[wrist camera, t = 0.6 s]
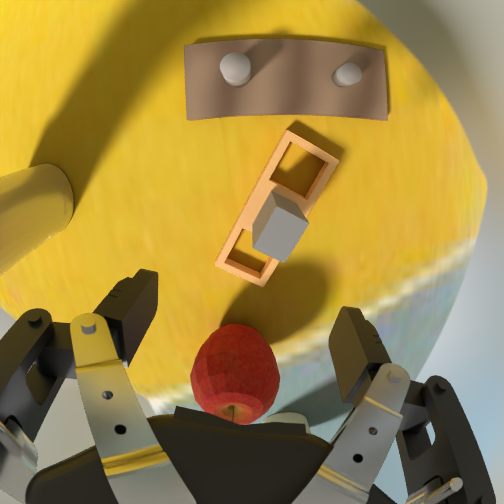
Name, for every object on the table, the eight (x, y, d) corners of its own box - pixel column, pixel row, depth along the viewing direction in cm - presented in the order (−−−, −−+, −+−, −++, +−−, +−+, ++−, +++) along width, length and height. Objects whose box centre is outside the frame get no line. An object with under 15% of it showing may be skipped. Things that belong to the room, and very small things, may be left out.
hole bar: (262, 280, 33) (265, 320, 26) (215, 259, 32) (207, 295, 25) (335, 159, 27) (361, 169, 20) (285, 129, 26) (297, 129, 19)
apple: (284, 352, 38) (295, 436, 25) (219, 369, 39) (211, 449, 27) (259, 295, 34) (263, 386, 21) (186, 318, 35) (162, 404, 23)
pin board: (190, 120, 26) (175, 118, 20) (187, 49, 22) (172, 31, 17) (381, 120, 25) (409, 120, 20) (377, 53, 22) (403, 40, 17)
